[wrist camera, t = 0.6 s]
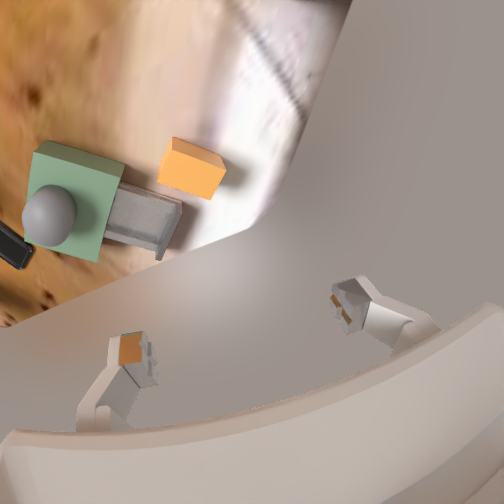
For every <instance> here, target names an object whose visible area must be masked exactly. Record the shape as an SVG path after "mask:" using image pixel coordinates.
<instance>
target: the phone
mask: <svg viewBox="0 0 504 504" xmlns="http://www.w3.org/2000/svg"><path fill="white" fill-rule="evenodd" d="M32 250H33V247H32V245H31V244H29V243H28V242H25V241H24V239H23V238H21V237H20V236H19V235H17V234H16V233H15V232H13V231H12V230H11V229H9V228H8V227H7V226H6V225H4V224H3V223H2V222H1V221H0V257H1V258H2V259H3V260H5V261H6V262H8V263H9V264H10V265H12V266H13V267H15V268H16V269H18V270H22V269H23V268H24V266H25V264H26V262H27V260H28V258H29V256H30V255H31V253H32Z"/></svg>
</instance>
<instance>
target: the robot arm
mask: <svg viewBox="0 0 504 504" xmlns="http://www.w3.org/2000/svg"><path fill="white" fill-rule="evenodd" d="M331 291H332V292H333V295H332V296H331V298H330V308H331V311H332V313H333V315H334V316H335V318H337V319H339V320H340V326H341V328H342V329H343V331H344V332H345V334H346V335H348V334H351V333H353V332H357V331H359V330H362V329H363V331H365V332H366V333H368V334H370V335H371V336H373V337H375V338H376V339H378V340H380V341H381V342H383V343H385V344H386V345H388V346H390V347H391V348H393V351H392V353H391V355H390V358H389V359H387V360H385V361H383V362H381V363H379V364H376V365H374V366H372V367H370V368H367V369H365V370H363V371H361V372H358V373H356V374H353V375H351V376H349V377H346V378H344V379H341V380H338V381H336V382H333V383H331V384H328V385H326V386H323V387H320V388H317V389H314V390H312V391H309V392H306V393H303V394H300V395H297V396H294V397H291V398H288V399H284V400H281V401H278V402H274V403H271V404H267V405H264V406H260V407H256V408H253V409H249V410H245V411H241V412H237V413H233V414H228V415H224V416H219V417H215V418H210V419H205V420H200V421H195V422H189V423H182V424H176V425H169V426H162V427H154V428H146V429H136V430H135V429H134V428H133V427H131V426H130V425H129V424H128V423H127V422H126V419H127V417H128V415H129V413H130V410H131V408H132V406H133V404H134V402H135V400H136V397H137V395H138V394H139V392H140V388H145V387H151V386H156V385H158V375H157V371H156V369H155V368H154V367H155V366H156V364H157V359H156V354H155V350H154V347H153V345H152V344H151V343H150V342H148V337H147V335H146V333H145V331H140V332H134V333H128V334H122V335H116V336H111V338H110V341H109V351H108V362H107V368H104V369H103V370H102V372H101V374H100V375H99V376H98V378H97V379H96V381H95V382H94V383H93V385H92V386H91V388H90V389H89V391H88V392H87V393H86V395H85V396H84V398H83V399H82V401H81V402H80V404H79V405H78V407H77V422H76V432H50V431H33V430H24V429H14V430H12V431H11V432H10V433H9V434H8V435H7V437H6V438H5V439H4V440H3V442H2V443H1V444H0V504H504V307H503V306H500V305H498V304H495V303H492V302H487V303H484V304H483V305H481V306H480V307H478V308H477V309H475V310H474V311H472V312H471V313H469V314H468V315H466V316H465V317H463V318H461V319H460V320H458V321H457V322H455V323H453V324H452V325H450V326H448V327H447V328H445V329H444V330H441V329H440V328H439V327H438V326H437V324H436V323H435V322H434V321H433V319H432V318H431V317H430V316H429V315H428V314H427V313H426V312H423V311H421V310H418V309H416V308H414V307H411V306H409V305H406V304H404V303H401V302H399V301H397V300H394V299H391V298H389V297H387V296H384V297H382V295H381V294H380V293H379V292H378V291H377V289H376V288H375V287H374V286H373V285H372V284H371V283H370V281H369V280H368V279H367V278H366V277H365V276H364V275H360V276H356V277H353V278H350V279H347V280H343V281H340V282H337V283H334V284H333V285H332V288H331Z"/></svg>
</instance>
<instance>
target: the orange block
mask: <svg viewBox="0 0 504 504" xmlns="http://www.w3.org/2000/svg"><path fill="white" fill-rule="evenodd" d="M225 172H226V168H225V166H224V163H223V161H222V159H221V156H220V155H218V154H215V153H213V152H210V151H208V150H205V149H203V148H200V147H198V146H195V145H193V144H190V143H188V142H185V141H183V140H180V139H177V138H175V137H172V138H171V140H170V142H169V144H168V147H167V149H166V151H165V153H164V156H163V158H162V160H161V162H160V165H159V170H158V179H157V182H158V183H161V184H164V185H167V186H170V187H173V188H176V189H179V190H182V191H185V192H187V193H190V194H193V195H196V196H199V197H202V198H205V199H207V200H211V198H212V196H213V194H214V192H215V190H216V189H217V187H218V185H219V183H220V181H221V180H222V178H223V176H224V174H225Z"/></svg>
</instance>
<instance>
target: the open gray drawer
mask: <svg viewBox="0 0 504 504" xmlns="http://www.w3.org/2000/svg"><path fill="white" fill-rule="evenodd" d="M182 214H183V213H182V201H179V200H176V199H173V198H170V197H167V196H164V195H161V194H158V193H155V192H152V191H149V190H146V189H143V188H140V187H137V186H134V185H130V184H127V183H124V182H121V181H120V182H119V185H118V188H117V191H116V194H115V199H114V203H113V206H112V209H111V213H110V216H109V220H108V223H107V227H106V230H105V234H104V236H103V237H105V238H109V239H112V240H116V241H119V242H123V243H126V244H130V245H133V246H137V247H141V248H144V249H148V250H151V251H155V252H156V257H155V260H159V261H161V260H162V257H163V255H164V253H165V251H166V248H167V246H168V244H169V242H170V239H171V237H172V235H173V233H174V231H175V228H176V226H177V224H178V222H179V220H180V218H181V216H182Z"/></svg>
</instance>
